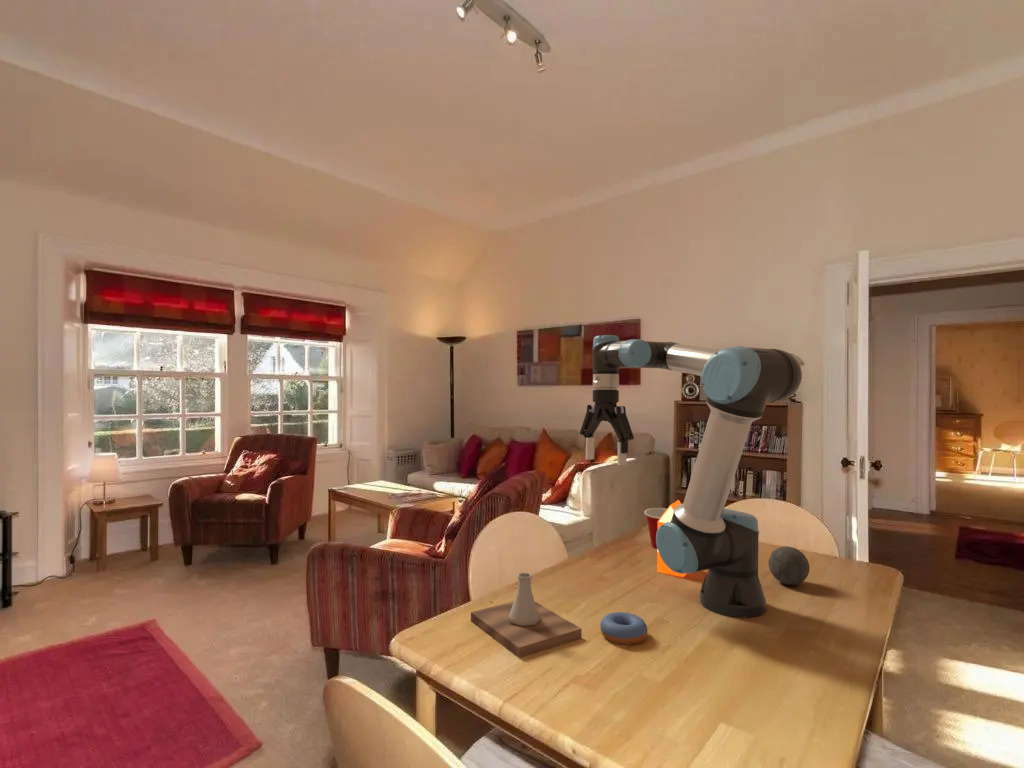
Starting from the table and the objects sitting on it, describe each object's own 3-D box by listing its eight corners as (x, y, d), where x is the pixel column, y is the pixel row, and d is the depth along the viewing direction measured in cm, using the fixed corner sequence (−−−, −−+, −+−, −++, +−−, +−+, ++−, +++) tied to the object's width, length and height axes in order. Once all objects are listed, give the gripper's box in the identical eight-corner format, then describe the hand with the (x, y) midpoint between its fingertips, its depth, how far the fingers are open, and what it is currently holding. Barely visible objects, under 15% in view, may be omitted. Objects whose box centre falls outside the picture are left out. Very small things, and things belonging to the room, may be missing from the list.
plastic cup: (641, 550, 180) (641, 513, 180) (646, 541, 190) (646, 506, 190) (675, 553, 176) (676, 516, 176) (679, 544, 186) (679, 509, 186)
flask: (538, 628, 117) (538, 581, 117) (504, 625, 118) (505, 579, 118) (543, 614, 124) (543, 570, 124) (511, 612, 125) (512, 568, 125)
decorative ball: (812, 592, 144) (812, 554, 144) (770, 587, 147) (770, 550, 147) (805, 579, 153) (805, 543, 153) (766, 575, 156) (766, 540, 156)
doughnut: (590, 629, 121) (592, 609, 121) (628, 624, 125) (630, 604, 124) (616, 654, 112) (618, 632, 111) (655, 647, 116) (658, 626, 115)
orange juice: (692, 568, 162) (692, 500, 162) (683, 577, 155) (684, 506, 155) (665, 563, 166) (666, 497, 166) (656, 572, 159) (656, 503, 159)
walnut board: (581, 638, 117) (581, 628, 117) (518, 657, 108) (518, 647, 108) (528, 606, 134) (528, 597, 134) (470, 620, 125) (470, 612, 125)
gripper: (568, 388, 168) (568, 457, 168) (627, 389, 147) (626, 468, 147) (587, 388, 172) (587, 456, 172) (646, 389, 151) (646, 466, 151)
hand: (605, 462), depth 159 cm, fingers open, 13 cm apart
